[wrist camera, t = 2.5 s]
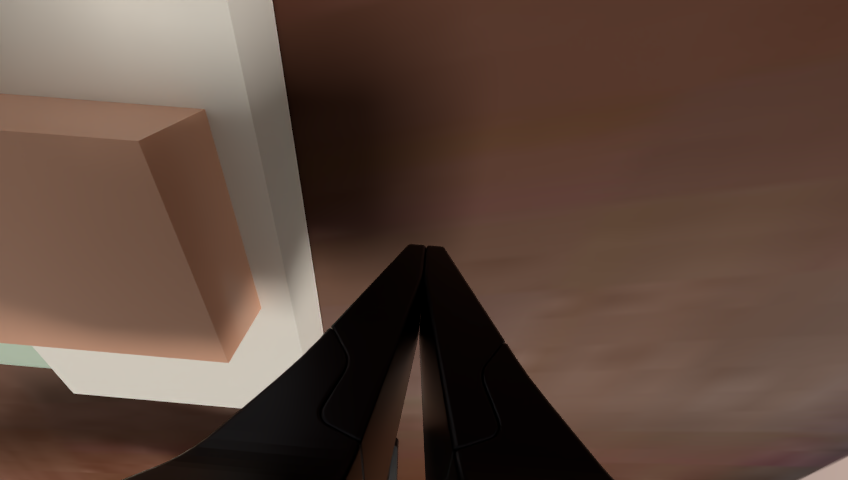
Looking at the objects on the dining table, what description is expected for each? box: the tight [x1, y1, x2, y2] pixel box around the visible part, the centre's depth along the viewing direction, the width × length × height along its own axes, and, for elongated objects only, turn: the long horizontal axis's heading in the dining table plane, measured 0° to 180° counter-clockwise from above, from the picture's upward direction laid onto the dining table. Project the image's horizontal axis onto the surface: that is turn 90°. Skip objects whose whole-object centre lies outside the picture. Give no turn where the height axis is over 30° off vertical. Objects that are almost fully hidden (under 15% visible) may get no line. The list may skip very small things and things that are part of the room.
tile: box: [0, 93, 261, 363], centre depth 9 cm, size 6×8×2 cm
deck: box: [0, 0, 323, 409], centre depth 10 cm, size 18×10×2 cm, turn 177°
